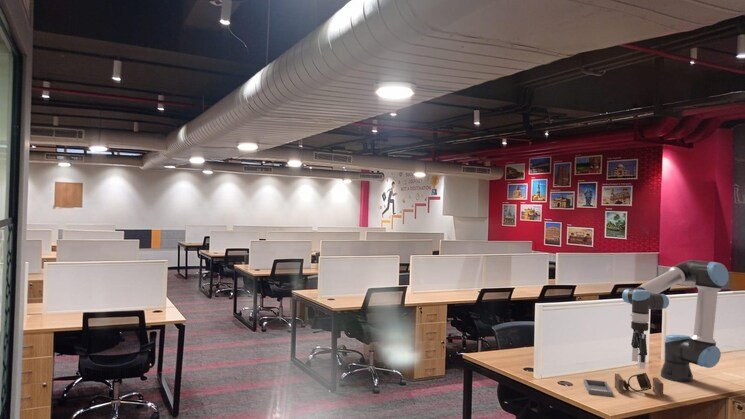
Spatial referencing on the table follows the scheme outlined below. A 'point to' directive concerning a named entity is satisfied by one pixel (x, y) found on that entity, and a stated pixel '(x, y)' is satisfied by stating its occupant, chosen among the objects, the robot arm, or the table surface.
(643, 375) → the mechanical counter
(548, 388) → the table surface
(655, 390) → the cradle
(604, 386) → the tray
